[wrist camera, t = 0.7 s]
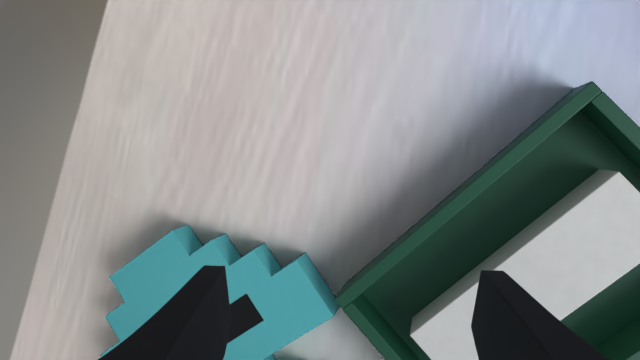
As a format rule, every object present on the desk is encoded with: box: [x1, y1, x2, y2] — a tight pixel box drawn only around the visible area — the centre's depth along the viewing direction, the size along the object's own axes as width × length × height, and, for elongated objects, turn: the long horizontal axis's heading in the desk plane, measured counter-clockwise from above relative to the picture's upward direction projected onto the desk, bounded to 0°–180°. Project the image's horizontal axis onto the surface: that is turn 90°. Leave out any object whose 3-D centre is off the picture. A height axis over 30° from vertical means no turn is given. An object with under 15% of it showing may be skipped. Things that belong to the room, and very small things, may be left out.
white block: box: [410, 169, 640, 360], centre depth 28 cm, size 4×15×3 cm, turn 133°
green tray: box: [335, 81, 640, 360], centre depth 28 cm, size 14×20×3 cm
